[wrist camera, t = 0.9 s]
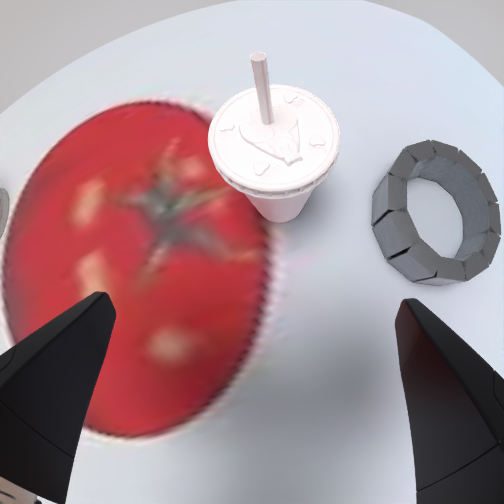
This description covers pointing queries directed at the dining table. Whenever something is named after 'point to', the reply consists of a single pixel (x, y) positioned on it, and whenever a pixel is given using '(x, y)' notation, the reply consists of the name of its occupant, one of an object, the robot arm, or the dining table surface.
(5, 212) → the grey mug
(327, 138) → the smoothie
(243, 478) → the dining table surface
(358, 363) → the dining table surface
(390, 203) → the stone ring
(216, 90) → the dining table surface
